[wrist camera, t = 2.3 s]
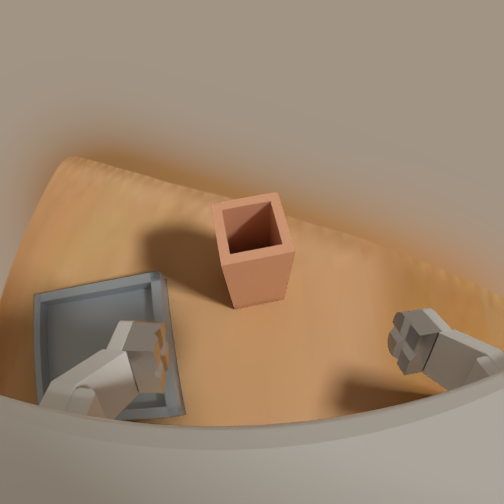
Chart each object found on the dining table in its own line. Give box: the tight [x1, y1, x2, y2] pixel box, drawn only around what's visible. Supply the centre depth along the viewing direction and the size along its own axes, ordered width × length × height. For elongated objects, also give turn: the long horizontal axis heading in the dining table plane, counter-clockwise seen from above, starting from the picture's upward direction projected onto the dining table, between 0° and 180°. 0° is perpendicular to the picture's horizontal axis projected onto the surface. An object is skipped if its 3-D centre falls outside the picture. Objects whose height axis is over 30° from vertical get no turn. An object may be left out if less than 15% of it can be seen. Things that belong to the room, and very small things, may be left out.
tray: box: [34, 271, 186, 420], centre depth 27 cm, size 14×16×2 cm
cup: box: [211, 192, 295, 309], centre depth 27 cm, size 5×5×11 cm
